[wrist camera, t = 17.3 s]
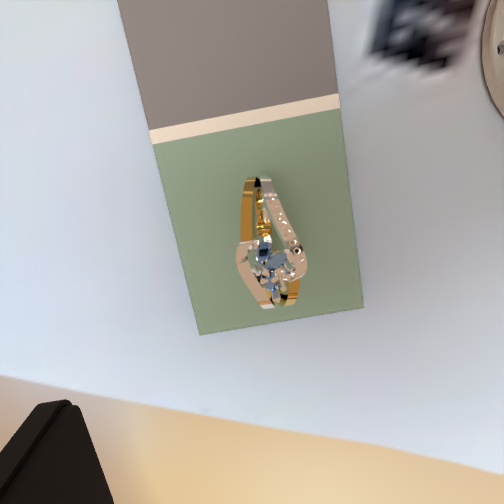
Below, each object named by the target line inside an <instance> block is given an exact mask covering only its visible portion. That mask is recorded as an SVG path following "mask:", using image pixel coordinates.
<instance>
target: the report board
mask: <svg viewBox="0 0 504 504" xmlns="http://www.w3.org/2000/svg"><path fill="white" fill-rule="evenodd" d="M117 2H118V6H119V10H120V15H121V19H122V23H123V27H124V31H125V35H126V39H127V43H128V47H129V51H130V55H131V59H132V63H133V67H134V71H135V75H136V79H137V83H138V87H139V92H140V96H141V100H142V104H143V108H144V112H145V116H146V120H147V124H148V128H149V134H150V138H151V142H152V144H153V148H154V152H155V156H156V160H157V164H158V168H159V173H160V177H161V181H162V185H163V189H164V193H165V197H166V201H167V205H168V209H169V213H170V217H171V221H172V225H173V229H174V233H175V237H176V241H177V245H178V250H179V254H180V258H181V262H182V266H183V270H184V274H185V278H186V282H187V286H188V290H189V294H190V298H191V302H192V306H193V310H194V314H195V318H196V322H197V326H198V331H199V335H205V334H211V333H217V332H223V331H229V330H235V329H241V328H246V327H252V326H258V325H264V324H270V323H276V322H282V321H288V320H293V319H299V318H305V317H311V316H317V315H323V314H329V313H335V312H340V311H346V310H352V309H358V308H364V306H363V297H362V289H361V280H360V272H359V264H358V255H357V247H356V239H355V230H354V222H353V213H352V205H351V197H350V188H349V180H348V171H347V163H346V155H345V146H344V138H343V129H342V121H341V113H340V101H339V93H338V88H337V79H336V71H335V62H334V54H333V46H332V37H331V29H330V20H329V12H328V4H327V0H117ZM262 175H269V176H270V178H271V181H272V184H273V186H274V189H275V192H276V194H277V197H278V199H279V201H280V204H281V206H282V208H283V210H284V212H285V215H286V217H287V219H288V221H289V223H290V225H291V227H292V229H293V230H294V232H295V234H296V236H297V238H298V240H299V242H300V244H301V246H302V248H303V250H304V253H305V256H306V259H307V270H306V273H305V274H304V275H303V276H302V277H301V278H300V286H299V292H298V296H297V299H296V301H295V303H294V304H293V305H290V306H279V305H278V303H277V302H275V308H271V309H263V308H262V307H261V306H260V304H259V303H258V302H257V300H256V299H255V297H254V296H253V294H252V293H251V291H250V290H249V288H248V287H247V286H246V284H245V282H244V281H243V279H242V277H241V275H240V273H239V271H238V268H237V264H236V250H237V247H238V245H239V244H240V243H241V235H240V230H241V205H242V195H243V189H244V184H245V181H246V179H247V177H251V176H258V177H259V176H262ZM256 220H257V215H256V205H255V228H256V236H257V226H256ZM270 222H271V219H270ZM271 231H272V235H271V237H272V243H271V244H272V252H275V251H279V250H283V251H284V249H286V248H285V246H284V245H283V243H282V241H281V239H280V237H279V235H278V234H277V232H276V230H275V228H274V226H273V224H272V222H271ZM257 239H258V236H257ZM250 256H251V261H252V263H253V265H254V262H255V260H256V249H252V250H251V253H250ZM286 262H287V263H288V266H289V268H292V263H289V260H287V261H286ZM254 267H255V265H254ZM255 269H256V268H255ZM256 271H257V272H258V271H259V270H256ZM258 274H259V272H258Z"/></svg>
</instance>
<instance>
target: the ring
mask: <svg viewBox="0 0 504 504" xmlns="http://www.w3.org/2000/svg"><path fill="white" fill-rule="evenodd" d="M255 205H256V215H257V220H256V226H257V236H258V239H257V236H256V228H255ZM270 219H271V222H272V224H273V226H274V228H275V230H276V232H277V234H278V235H279V237H280V239H281V241H282V243H283V245H284V246H285V248H286V249H284V251H283V250H279V251H275V252H272V244H271V243H272V237H271V235H272V231H271V222H270ZM240 235H241V243H240V244H239V245H238V247H237V250H236V264H237V268H238V271H239V273H240V275H241V277H242V279H243V281H244V282H245V284H246V286H247V287H248V288H249V290H250V291H251V293H252V294H253V296H254V297H255V299H256V300H257V302H258V303H259V304H260V306H261V307H262V308H263V309H271V308H275V302H277V303H278V305H279V306H290V305H293V304H294V303H295V301H296V299H297V296H298V292H299V286H300V278H301V277H302V276H303V275H304V274H305V273H306V270H307V259H306V256H305V253H304V250H303V248H302V246H301V244H300V242H299V240H298V238H297V236H296V234H295V232H294V230H293V229H292V227H291V225H290V223H289V221H288V219H287V217H286V215H285V212H284V210H283V208H282V206H281V204H280V201H279V199H278V197H277V194H276V192H275V189H274V186H273V184H272V181H271V178H270V176H269V175H262V176H259V177H258V176H251V177H247V179H246V181H245V184H244V189H243V195H242V205H241V230H240ZM252 249H256V260H255V262H254V265H255V267H254V265H253V263H252V261H251V256H250V253H251V250H252ZM287 260H289V263H292V268H289V266H288V263H287V262H286V261H287ZM255 268H256V269H255ZM256 270H259V271H258V272H259V274H258V272H257V271H256Z"/></svg>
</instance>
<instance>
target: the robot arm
mask: <svg viewBox="0 0 504 504" xmlns="http://www.w3.org/2000/svg"><path fill="white" fill-rule="evenodd" d="M498 47H499V48H500V53H499V54H498V51H497V48H498ZM482 62H483V68H484V75H485V81H486V84H487V86H488V89H489V91H490V94H491V97H492V99H493V101H494V103H495V105H496V106H497V108H498V109H499V111H500V112H501V114H502V115H503V117H504V0H491V2H490V5H489V8H488V11H487V15H486V20H485V25H484V31H483V36H482ZM0 504H114V502H113V498H112V495H111V493H110V490H109V487H108V484H107V482H106V479H105V476H104V473H103V471H102V468H101V465H100V462H99V460H98V457H97V454H96V452H95V448H94V446H93V443H92V440H91V437H90V435H89V432H88V429H87V426H86V424H85V421H84V418H83V415H82V412H81V410H80V408H79V407H78V406H76V405H72V403H71V402H70V401H69V400H66V399H65V400H59V401H52V402H46V403H41V404H38V405H37V406H36V407H35V408H34V409H33V411H32V412H31V413H30V415H29V416H28V417H27V419H26V420H25V421H24V422H23V424H22V425H21V426H20V428H19V429H18V430H17V431H16V433H15V434H14V436H13V437H12V438H11V439H10V441H9V442H8V443H7V445H6V446H5V447H4V448H3V450H2V451H1V452H0Z"/></svg>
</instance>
